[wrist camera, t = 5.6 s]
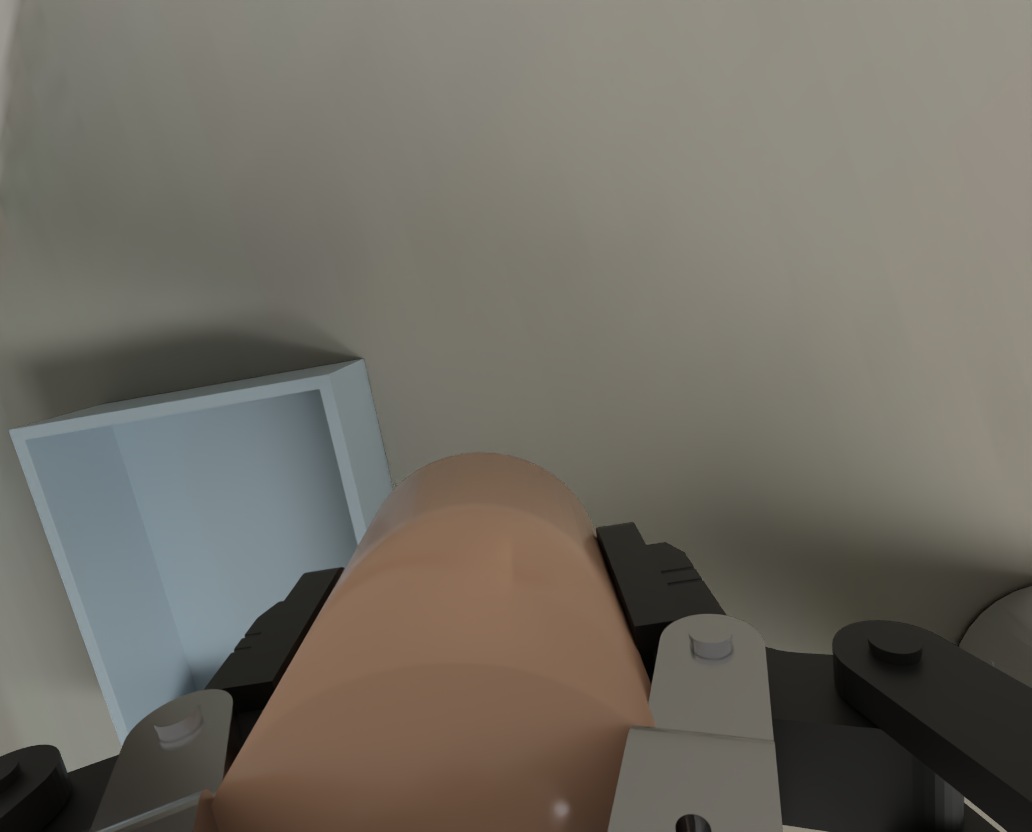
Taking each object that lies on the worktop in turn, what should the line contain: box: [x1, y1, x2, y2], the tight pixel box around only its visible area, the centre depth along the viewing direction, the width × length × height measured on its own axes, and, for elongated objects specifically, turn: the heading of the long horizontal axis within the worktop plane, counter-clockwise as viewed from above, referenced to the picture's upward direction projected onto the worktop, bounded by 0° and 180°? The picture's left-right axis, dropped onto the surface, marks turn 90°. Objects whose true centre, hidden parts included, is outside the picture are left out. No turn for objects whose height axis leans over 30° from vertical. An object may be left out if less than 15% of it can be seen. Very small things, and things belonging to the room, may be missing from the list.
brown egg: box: [211, 453, 656, 832], centre depth 9 cm, size 5×5×7 cm
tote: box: [9, 359, 393, 746], centre depth 28 cm, size 13×17×6 cm
